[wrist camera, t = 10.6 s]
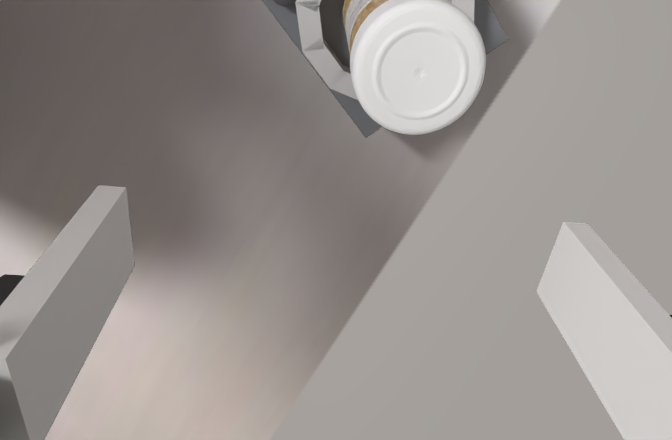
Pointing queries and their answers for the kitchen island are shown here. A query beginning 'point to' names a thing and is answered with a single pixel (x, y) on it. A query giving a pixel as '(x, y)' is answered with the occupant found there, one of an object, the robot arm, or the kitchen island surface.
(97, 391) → the kitchen island surface
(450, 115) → the sprinkles bottle
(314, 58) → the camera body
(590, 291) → the robot arm
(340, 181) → the kitchen island surface
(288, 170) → the kitchen island surface
